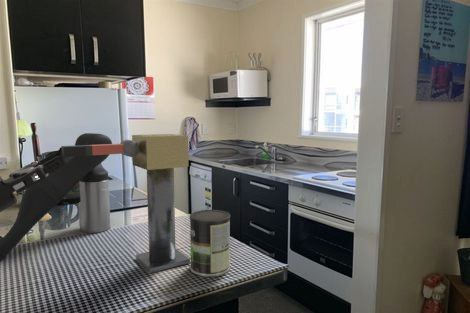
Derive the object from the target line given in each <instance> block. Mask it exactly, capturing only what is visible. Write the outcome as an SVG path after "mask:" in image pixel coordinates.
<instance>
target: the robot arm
mask: <svg viewBox="0 0 470 313" xmlns="http://www.w3.org/2000/svg"><path fill="white" fill-rule="evenodd" d="M101 144H113V141H112V139H111V138H110V137H109V136H108V135H106V134H104V133H103V134H102V133H95V132H94V133H89V132H87V133H82V134H80V135H79V136H78V137H77V138H76V140H75V143H74V146H76V145H101ZM110 155H111V154H108V155H90V156H74V157H73V158H71V159H70V160H68V161H67V162H64V160H63V159H62V157H61V156H57V155H56V154H51V155H49V156H48V155H47V156H46V157H44V158H42V159H40V160H37V161H32V162H30V163H29V164H26V165H24V166H22V167H21V168H20V169H16V170H14V171H12V172H11V173H10V174H9V175H8V178H6V179H3V177H2V176H1V175H0V213H1V212H3V211H4V210H7V209H9V208H10V207H12V206H14V205H15V204H17V202H18V199H17V197H16V195H15V194H14V193H16V194H20V193H22V192H24V193H23V194H22V197H21V201H20V204H19V209H18V212H17V216H16V218H15V221H14V223H13V224H12V226H11V227H10V229H9V230H8V231H7V233H6V234H5V235H4V236H1V235H0V263H1V262H2V261H3V260H5V258H6V257H7V256H8V255H9V254H10V253H11V252H12V251H13V249H14V248H16V246H17V245H18V244H19V243H20V242H21V240H22V239H24V237H25V236H26V235H27V234H28V233H29V232H30V231H31V230H32V229H33V227H34V226H35V225H36V224H37V223H39V222H38V221H39V220H40V219H42V218H43V217H44V216H45V215H46V214H47V213H48V214H49V212H50V211H51V210H53V208H55V207H56V205H59V204H58V203H59V202H60V201H61V200H62V199H63V198H64V196H65V195H66V194H67V193H68V192H69V191H70V190H71V189H72V188H73V187H74V186H75V185H76V184H78V183H79V182H80V198H81V202H79V203H77V205H78V207H77V208H78V220H79V221H78V223H79V225H78V226H79V231H82V232H84V233H88V234H89V233H94V234H95V233H101V232H105V231H108V230H109V229H110V228H111V208H110V184H109V183H110V182H109V172H108V170H106V169H105V167H104V166H103V164H102V163H103V162H104V161H106V159H107V158H109V156H110Z"/></svg>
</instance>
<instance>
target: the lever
mask: <svg viewBox="0 0 470 313" xmlns="http://www.w3.org/2000/svg"><path fill="white" fill-rule="evenodd" d="M60 148H62V156H63V157H72V156H90V155H108V154H110V155H123V156H124V157H125V156H126V157H130V158H133V157H134V156H136V155H137V154H138V153H139V151H140V146H139V144H138V143H137V142H135V141H132V139H124V140H122V141H121V142H120V143H112V144H101V145H76V146H75V145H61V147H60Z"/></svg>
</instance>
